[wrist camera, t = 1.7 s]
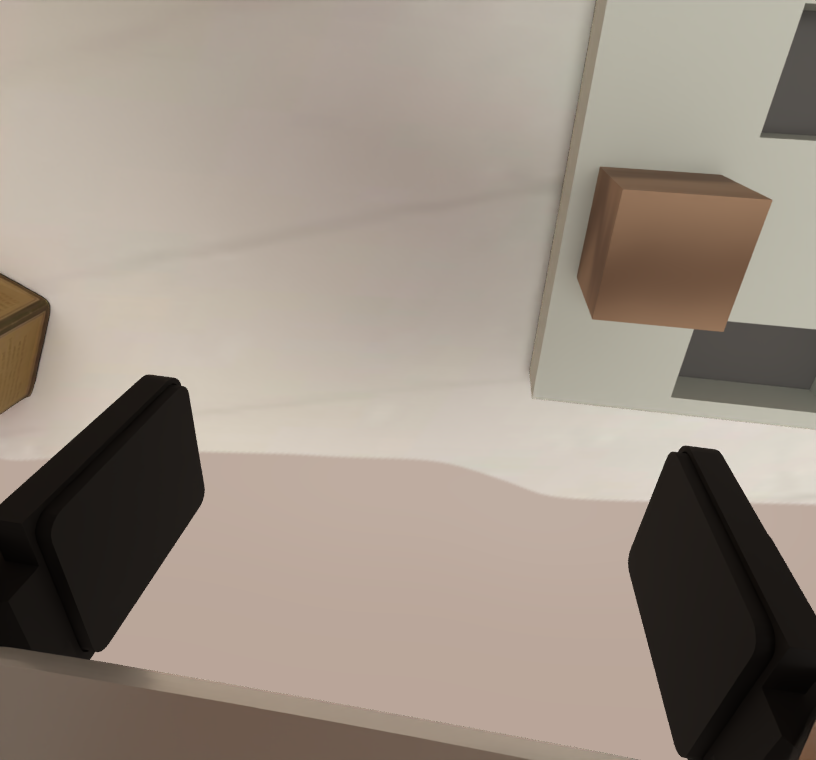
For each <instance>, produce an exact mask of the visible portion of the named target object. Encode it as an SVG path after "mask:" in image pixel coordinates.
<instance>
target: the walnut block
mask: <svg viewBox="0 0 816 760" xmlns="http://www.w3.org/2000/svg"><path fill="white" fill-rule="evenodd" d="M772 201H773V200H772V199H770V198H768V197H766V196H764V195H762V194H760V193H758V192H755V191H753V190H751V189H749V188H747V187H745V186H743V185H741V184H739V183H737V182H735V181H733V180H731V179H729V178H727V177H725V176H723V175H719V174H704V173H690V172H675V171H660V170H645V169H630V168H616V167H601V166H600V168H599V173H598V178H597V183H596V187H595V192H594V197H593V202H592V207H591V211H590V216H589V221H588V226H587V230H586V235H585V240H584V245H583V249H582V254H581V259H580V264H579V268H578V273H577V280H578V282H579V285H580V288H581V290H582V293H583V296H584V298H585V301H586V304H587V307H588V309H589V312H590V315H591V317H592V319H593V320H603V321H614V322H624V323H635V324H645V325H656V326H666V327H677V328H687V329H698V330H708V331H719V332H724V329H725V326H726V324H727V321H728V318H729V316H730V313H731V310H732V308H733V305H734V302H735V300H736V297H737V294H738V292H739V289H740V286H741V284H742V281H743V278H744V276H745V273H746V270H747V268H748V265H749V262H750V260H751V257H752V254H753V252H754V249H755V246H756V243H757V241H758V238H759V235H760V233H761V230H762V227H763V225H764V222H765V219H766V217H767V214H768V211H769V209H770V206H771V203H772Z"/></svg>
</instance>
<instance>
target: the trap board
mask: <svg viewBox="0 0 816 760" xmlns="http://www.w3.org/2000/svg"><path fill="white" fill-rule="evenodd" d="M600 166H601V167H616V168H630V169H645V170H660V171H675V172H690V173H704V174H719V175H723V176H725V177H727V178H729V179H731V180H733V181H735V182H737V183H739V184H741V185H743V186H745V187H747V188H749V189H751V190H753V191H755V192H758V193H760V194H762V195H764V196H766V197H768V198H770V199H772V200H773V201H772V203H771V206H770V209H769V211H768V214H767V217H766V219H765V222H764V225H763V227H762V230H761V233H760V235H759V238H758V241H757V243H756V246H755V249H754V252H753V254H752V257H751V260H750V262H749V265H748V268H747V270H746V273H745V276H744V278H743V281H742V284H741V286H740V289H739V292H738V294H737V297H736V300H735V302H734V305H733V308H732V310H731V313H730V316H729V318H728V321H727V324H726V326H725V329H724V332H719V331H708V330H698V329H687V328H677V327H666V326H656V325H645V324H635V323H624V322H614V321H603V320H593V319H592V317H591V315H590V312H589V309H588V307H587V304H586V301H585V298H584V296H583V293H582V290H581V288H580V285H579V282H578V280H577V273H578V268H579V264H580V259H581V254H582V249H583V245H584V240H585V235H586V230H587V226H588V221H589V216H590V211H591V207H592V202H593V197H594V192H595V187H596V183H597V178H598V173H599V168H600ZM529 374H530V383H531V393H532V399H541V400H550V401H559V402H568V403H577V404H586V405H595V406H604V407H613V408H622V409H631V410H640V411H649V412H658V413H667V414H676V415H685V416H694V417H704V418H713V419H722V420H731V421H740V422H749V423H758V424H767V425H776V426H785V427H794V428H803V429H812V430H816V0H596V5H595V11H594V16H593V22H592V27H591V33H590V39H589V44H588V50H587V55H586V61H585V66H584V72H583V77H582V83H581V88H580V94H579V99H578V105H577V111H576V116H575V122H574V127H573V133H572V138H571V144H570V149H569V155H568V160H567V166H566V171H565V177H564V183H563V188H562V194H561V199H560V205H559V210H558V216H557V221H556V227H555V232H554V238H553V243H552V249H551V255H550V260H549V266H548V271H547V277H546V282H545V288H544V293H543V299H542V304H541V310H540V315H539V321H538V327H537V332H536V338H535V343H534V349H533V354H532V360H531V365H530V371H529Z"/></svg>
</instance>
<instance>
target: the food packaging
mask: <svg viewBox="0 0 816 760" xmlns="http://www.w3.org/2000/svg"><path fill="white" fill-rule="evenodd" d="M49 314H50V309H49V304H48V302H47V300H46V299H44V298H42V297H41V296H39V295H37V294H36V293H34V292H32V291H30V290H28V289H26V288H24V287H23V286H21V285H19V284H17V283H16V282H14V281H12V280H10V279H8V278H6V277H4V276H2V275H1V274H0V414H2V413H3V412H5V411H6V410H8V409H9V408H10V407H12V406H13V405H15V404H16V403H18V402H19V401H21V400H22V399H24V398H26V397H29V396H30V395H31V393H32V390H33V387H34V383H35V379H36V374H37V368H38V363H39V358H40V354H41V350H42V346H43V342H44V337H45V332H46V328H47V323H48V319H49Z"/></svg>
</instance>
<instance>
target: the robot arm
mask: <svg viewBox="0 0 816 760" xmlns="http://www.w3.org/2000/svg"><path fill="white" fill-rule="evenodd" d="M204 491H205V489H204V482H203V475H202V469H201V464H200V458H199V452H198V446H197V440H196V434H195V428H194V422H193V416H192V410H191V404H190V398H189V393H188V390H187V388H186V387H184V386H181V383H180V382H179V380H178V379H176V378H172V377H164V376H156V375H145V376H143V377H142V378H141V379H140V380H139V381H137V382H136V383H135V384H134V385H133V386H132V387H131V388H130V389H128V390H127V391H126V392H125V393H124V394H123V395H122V396H121V397H120V398H118V399H117V400H116V401H115V402H114V403H113V404H112V405H111V406H109V407H108V408H107V409H106V410H105V411H104V412H103V413H102V414H101V415H99V416H98V417H97V418H96V419H95V420H94V421H93V422H92V423H90V424H89V425H88V426H87V427H86V428H85V429H84V430H83V431H82V432H80V433H79V434H78V435H77V436H76V437H75V438H74V439H73V440H71V441H70V442H69V443H68V444H67V445H66V446H65V447H64V448H63V449H61V450H60V451H59V452H58V453H57V454H56V455H55V456H54V457H52V458H51V459H50V460H49V461H48V462H47V463H46V464H45V465H44V466H42V467H41V468H40V469H39V470H38V471H37V472H36V473H35V474H33V475H32V476H31V477H30V478H29V479H28V480H27V481H26V482H25V483H23V484H22V485H21V486H20V487H19V488H18V489H17V490H16V491H14V492H13V493H12V494H11V495H10V496H9V497H8V498H7V499H6V500H5V501H3V502H2V503H1V504H0V760H637V759H633V758H628V757H623V756H618V755H613V754H608V753H603V752H597V751H592V750H587V749H581V748H576V747H571V746H565V745H560V744H555V743H549V742H544V741H539V740H533V739H528V738H522V737H516V736H512V735H506V734H501V733H496V732H490V731H485V730H479V729H474V728H469V727H464V726H458V725H453V724H447V723H442V722H437V721H431V720H426V719H420V718H414V717H409V716H404V715H398V714H393V713H387V712H381V711H376V710H371V709H365V708H359V707H354V706H348V705H343V704H338V703H331V702H327V701H321V700H315V699H310V698H304V697H299V696H293V695H288V694H282V693H277V692H271V691H265V690H260V689H254V688H249V687H243V686H237V685H232V684H226V683H220V682H214V681H209V680H203V679H197V678H192V677H186V676H180V675H175V674H169V673H163V672H158V671H152V670H146V669H140V668H135V667H129V666H123V665H118V664H112V663H106V662H100V661H94V660H90V659H91V657H92V656H93V654H94V653H95V652H100V651H102V650H103V649H105V647H107V645H108V644H109V642H110V641H111V640H112V638H113V637H114V635H115V634H116V632H117V630H118V629H119V627H120V626H121V625H122V623H123V622H124V620H125V619H126V617H127V615H128V614H129V612H130V611H131V609H132V608H133V606H134V605H135V603H136V602H137V600H138V599H139V597H140V596H141V594H142V593H143V591H144V590H145V588H146V587H147V585H148V584H149V582H150V581H151V579H152V578H153V576H154V575H155V573H156V572H157V570H158V569H159V567H160V566H161V564H162V563H163V561H164V560H165V558H166V557H167V555H168V554H169V552H170V551H171V549H172V548H173V546H174V545H175V543H176V542H177V540H178V539H179V537H180V536H181V534H182V533H183V531H184V530H185V528H186V527H187V525H188V524H189V522H190V521H191V519H192V518H193V516H194V515H195V513H196V512H197V510H198V508H199V507H200V505H201V503H202V501H203V497H204ZM628 568H629V573H630V577H631V581H632V584H633V589H634V592H635V596H636V600H637V604H638V608H639V611H640V615H641V619H642V623H643V627H644V630H645V634H646V638H647V642H648V646H649V649H650V653H651V657H652V661H653V665H654V668H655V672H656V676H657V680H658V684H659V688H660V691H661V695H662V699H663V703H664V707H665V711H666V714H667V718H668V722H669V726H670V730H671V734H672V737H673V741H674V745H675V747H676V750H677V752H678V754H679V755H680V756H681V757H684V758H687V759H688V760H816V615H815V613H814V611H813V610H812V608H811V606H810V604H809V603H808V602H807V599H806V598H805V596H804V594H803V592H802V591H801V589H800V588H799V585H798V584H797V582H796V580H795V579H794V577H793V575H792V573H791V572H790V570H789V568H788V566H787V565H786V563H785V561H784V559H783V558H782V556H781V555H780V553H779V551H778V549H777V547H776V546H775V544H774V542H773V541H772V539H771V538H770V536H769V535H768V534H767V532H766V530H765V529H764V527H763V525H762V524H761V522H760V520H759V519H758V517H757V515H756V513H755V511H754V510H753V508H752V506H751V504H750V503H749V501H748V499H747V497H746V496H745V494H744V492H743V490H742V489H741V487H740V485H739V483H738V482H737V480H736V478H735V477H734V475H733V473H732V471H731V470H730V468H729V466H728V464H727V463H726V461H725V459H724V457H723V456H722V454H721V453H720V452H719V451H718V450H715V449H707V448H700V447H692V446H682V447H681V448H680V449H679V451H678V452H671V453H670V454H669V455H668V457H667V459H666V461H665V464H664V466H663V469H662V471H661V474H660V477H659V479H658V482H657V484H656V487H655V489H654V492H653V494H652V497H651V499H650V502H649V504H648V507H647V509H646V512H645V515H644V517H643V519H642V522H641V524H640V527H639V530H638V532H637V535H636V537H635V540H634V542H633V545H632V547H631V550H630V553H629V558H628Z"/></svg>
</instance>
